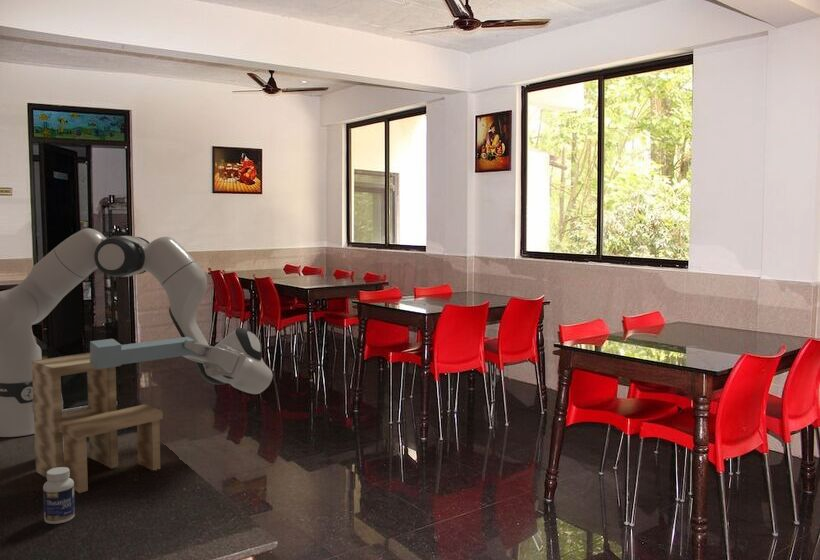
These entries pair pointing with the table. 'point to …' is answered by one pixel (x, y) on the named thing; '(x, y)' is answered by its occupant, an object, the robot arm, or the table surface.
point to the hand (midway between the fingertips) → (178, 342)
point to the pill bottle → (58, 496)
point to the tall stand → (51, 414)
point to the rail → (135, 351)
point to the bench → (108, 422)
